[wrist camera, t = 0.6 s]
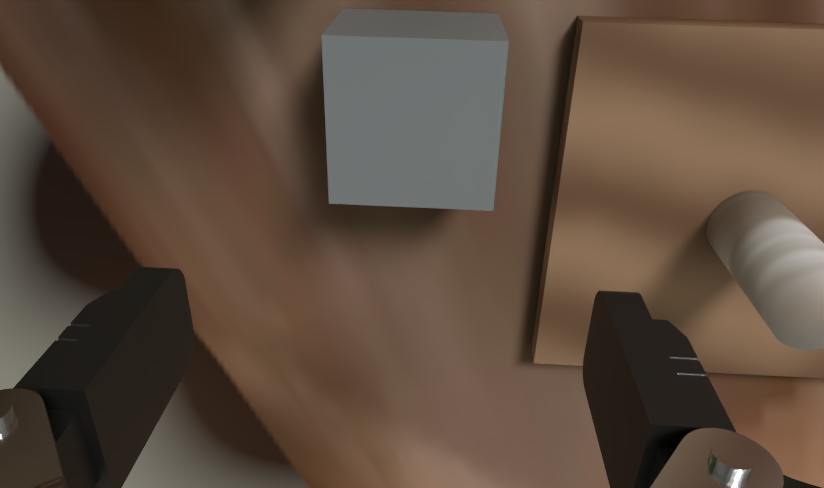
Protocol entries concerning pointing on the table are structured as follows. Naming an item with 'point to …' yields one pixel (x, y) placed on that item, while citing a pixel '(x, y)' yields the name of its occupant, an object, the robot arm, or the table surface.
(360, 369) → the table surface
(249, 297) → the table surface
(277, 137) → the table surface
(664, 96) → the wooden square tile
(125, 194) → the table surface
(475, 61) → the matte grey cube
